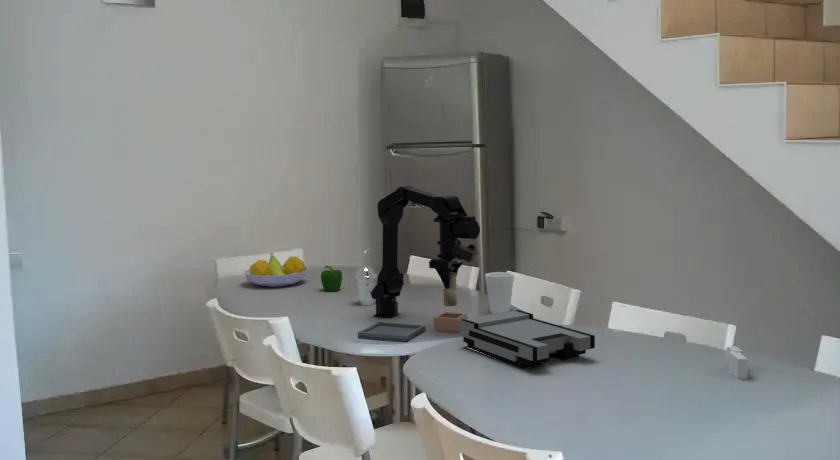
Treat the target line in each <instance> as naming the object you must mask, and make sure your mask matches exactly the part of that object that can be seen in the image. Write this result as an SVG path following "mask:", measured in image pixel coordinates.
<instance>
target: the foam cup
mask: <svg viewBox="0 0 840 460" xmlns="http://www.w3.org/2000/svg"><path fill="white" fill-rule="evenodd" d="M484 276H485V277H484V278H485V279H484V281H485V283H486V289H487V291H486V292H487V298H488V305H489V306H488V307H489V312H490V315H492V314H497V313H503V312H509V311H511V303H512V296H513V285H514V282H515V280H514V279H515V278H514V277H515V273H513V272H508V271H507V272H506V271H504V272H503V271H495V272H494V271H493V272H488V273H485V275H484Z"/></svg>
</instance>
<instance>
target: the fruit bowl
mask: <svg viewBox="0 0 840 460" xmlns="http://www.w3.org/2000/svg"><path fill="white" fill-rule="evenodd" d="M309 271H310V269H309V268H308V267H307V266H306V265H305V263H304V260H302V259H301V258H299V257H297V256H289V257H288V258H287V259H286V261H284V263H283V265H281V263H280V262H279V260H278V259H277V258H276V257H275V256H274V252H270V257H269V261H267V260H264V259H263V260H262V259H259V260H257V261H255V262H254V263H253V264H252V265H250V267H249V269H247V270H244V271H243V272H244V276H245V278H246V281H247V282H251V283H253V284H256V285H258V286H260V287H261V286H262V287H267V288H279V287H286V286H294V285H295V284H296V283H299V282H300V281H302V280H304V279H305V278H306V275H307V274H308V272H309Z"/></svg>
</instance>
